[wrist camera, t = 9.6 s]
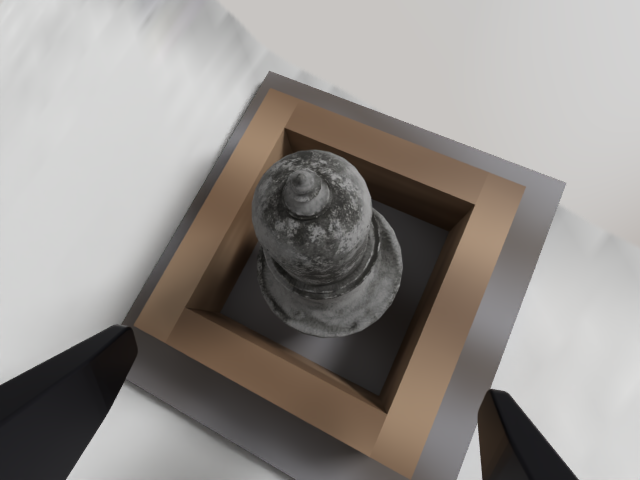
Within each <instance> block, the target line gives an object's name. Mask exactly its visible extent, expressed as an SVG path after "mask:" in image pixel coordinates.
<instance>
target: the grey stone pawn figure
mask: <svg viewBox="0 0 640 480" xmlns="http://www.w3.org/2000/svg"><path fill="white" fill-rule="evenodd" d="M252 223H253V226H254V230H255V233H256V237H257V239H258V240H259V242H260V247H259V251H258V255H257V279H258V282H259V286H260V289H261V293H262V296H263V297H264V299H265V301H266V302H267V304H268V306H269V307H270V309H271V311H272V312H273V313H274V314H275V315H276V316H277V317H279V318H280V319H281V320H282V321H283V322H284V323H285V324H286V325H288V326H290V327H291V328H293V329H295V330H297V331H299V332H301V333H303V334H306V335H311V336H315V337H320V338H335V337H345V336H348V335H351V334H354V333H357V332H360V331H362V330H364V329H365V328H367V327H368V326H370V325H371V324H373V323H374V322H376V321H377V320H378V319H379V318H380V317H381V316H382V315H383V314H384V313H385V311H386V310H387V309H388V308H389V307H390V305H391V304H392V302H393V300H394V298H395V296H396V293H397V291H398V289H399V287H400V282H401V276H402V270H403V263H402V254H401V247H400V245H399V242H398V240H397V237H396V235H395V232H394V230H393V229H392V227H391V226H390V225H389V223H388V222H387V221H386V219H385V218H384V217H383V216H382V215H381V214H380V213H379V212H377V211H376V210H375V209H374V208H372V202H371V196H370V193H369V190H368V188H367V185H366V182H365V181H364V179H363V177H362V176H361V175H360V173H359V172H358V171H357V169H356V168H355V167H354V166H353V165H352V164H351V163H349V162H348V161H347V160H346V159H344V158H343V157H340V156H338V155H336V154H334V153H331V152H328V151H321V150H304V151H298V152H295V153H293V154H290V155H287V156H285V157H283V158H282V159H280V160H279V161H277V162H276V163H274V164H273V165H272V166H271V167H270V168H269V169H268V170H267V171H266V172H265V173H264V174H263V176H262V178H261V179H260V181H259V183H258V185H257V187H256V189H255V192H254V196H253V200H252Z"/></svg>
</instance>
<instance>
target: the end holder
mask: <svg viewBox="0 0 640 480" xmlns="http://www.w3.org/2000/svg"><path fill="white" fill-rule="evenodd" d="M304 150H321V151H328V152H331V153H334V154H336V155H338V156H340V157H343V158H344V159H346V160H347V161H348V162H349V163H351V164H352V165H353V166H354V167H355V168H356V169H357V171H358V172H359V173H360V175H361V176H362V177H363V179H364V181H365V182H366V185H367V188H368V190H369V193H370V196H371V202H372V208H374V209H375V210H376V211H377V212H379V213H380V214H381V215H382V216H383V217H384V218H385V219H386V221H387V222H388V223H389V225H390V226H391V227H392V229H393V230H394V232H395V235H396V237H397V240H398V242H399V245H400V247H401V254H402V263H403V270H402V276H401V282H400V287H399V289H398V291H397V293H396V296H395V298H394V300H393V302H392V304H391V305H390V307H389V308H388V309H387V310H386V311H385V313H384V314H383V315H382V316H381V317H380V318H379V319H378V320H377V321H376V322H374V323H373V324H371V325H370V326H368V327H367V328H365V329H364V330H362V331H360V332H357V333H354V334H351V335H348V336H345V337H335V338H320V337H315V336H311V335H306V334H303V333H301V332H299V331H297V330H295V329H293V328H291V327H290V326H288V325H286V324H285V323H284V322H283V321H282V320H281V319H280V318H279V317H277V316H276V315H275V314H274V313H273V312H272V311H271V309H270V307H269V306H268V304H267V302H266V301H265V299H264V297H263V296H262V293H261V289H260V286H259V282H258V279H257V255H258V251H259V247H260V242H259V240H258V239H257V237H256V233H255V230H254V226H253V223H252V200H253V196H254V192H255V189H256V187H257V185H258V183H259V181H260V179H261V178H262V176H263V174H264V173H265V172H266V171H267V170H268V169H269V168H270V167H271V166H272V165H273V164H274V163H276V162H277V161H279V160H280V159H282V158H283V157H285V156H287V155H290V154H293V153H295V152H298V151H304ZM565 185H566V183H565V182H563V181H560V180H557V179H555V178H552V177H549V176H547V175H544V174H541V173H539V172H536V171H533V170H530V169H528V168H525V167H523V166H520V165H517V164H515V163H512V162H509V161H507V160H504V159H501V158H499V157H496V156H494V155H491V154H488V153H486V152H483V151H480V150H478V149H475V148H472V147H470V146H467V145H464V144H462V143H459V142H456V141H454V140H451V139H449V138H446V137H443V136H441V135H438V134H435V133H433V132H430V131H427V130H424V129H422V128H419V127H417V126H414V125H411V124H409V123H406V122H403V121H401V120H398V119H395V118H393V117H390V116H388V115H385V114H382V113H380V112H377V111H374V110H372V109H369V108H366V107H364V106H361V105H358V104H356V103H353V102H350V101H348V100H345V99H342V98H340V97H337V96H334V95H332V94H329V93H326V92H324V91H321V90H319V89H316V88H313V87H311V86H308V85H305V84H303V83H300V82H297V81H295V80H292V79H289V78H287V77H284V76H281V75H279V74H276V73H273V72H271V71H269V72H268V74H267V76H266V78H265V79H264V81H263V83H262V84H261V86H260V88H259V90H258V91H257V93H256V95H255V96H254V98H253V100H252V102H251V103H250V105H249V107H248V108H247V110H246V112H245V114H244V115H243V117H242V119H241V120H240V122H239V124H238V126H237V127H236V129H235V131H234V132H233V134H232V136H231V138H230V139H229V141H228V143H227V144H226V146H225V148H224V150H223V151H222V153H221V155H220V156H219V158H218V160H217V162H216V163H215V165H214V167H213V168H212V170H211V172H210V174H209V175H208V177H207V179H206V180H205V182H204V184H203V186H202V187H201V189H200V191H199V192H198V194H197V196H196V198H195V199H194V201H193V203H192V204H191V206H190V208H189V210H188V211H187V213H186V215H185V216H184V218H183V220H182V222H181V223H180V225H179V227H178V228H177V230H176V232H175V234H174V235H173V237H172V239H171V240H170V242H169V244H168V246H167V247H166V249H165V251H164V252H163V254H162V256H161V258H160V259H159V261H158V263H157V264H156V266H155V268H154V270H153V271H152V273H151V275H150V276H149V278H148V280H147V282H146V283H145V285H144V287H143V288H142V290H141V292H140V294H139V295H138V297H137V299H136V300H135V302H134V304H133V306H132V307H131V309H130V311H129V312H128V314H127V316H126V318H125V319H124V321H123V323H122V324H121V325H125V326H129V327H131V328H132V329H133V331H134V335H135V339H136V343H137V346H138V354H137V357H136V359H135V361H134V363H133V365H132V367H131V369H130V371H129V373H128V375H127V377H126V380H128V381H130V382H132V383H133V384H135V385H137V386H138V387H140V388H142V389H143V390H145V391H147V392H148V393H150V394H152V395H153V396H155V397H157V398H159V399H160V400H162V401H164V402H165V403H167V404H169V405H170V406H172V407H174V408H175V409H177V410H179V411H181V412H182V413H184V414H186V415H187V416H189V417H191V418H192V419H194V420H196V421H197V422H199V423H201V424H203V425H204V426H206V427H208V428H209V429H211V430H213V431H214V432H216V433H218V434H219V435H221V436H223V437H224V438H226V439H228V440H230V441H231V442H233V443H235V444H236V445H238V446H240V447H241V448H243V449H245V450H246V451H248V452H250V453H252V454H253V455H255V456H257V457H258V458H260V459H262V460H263V461H265V462H267V463H268V464H270V465H272V466H273V467H275V468H277V469H279V470H280V471H282V472H284V473H285V474H287V475H289V476H290V477H292V478H294V479H295V480H456V479H457V477H458V474H459V471H460V469H461V466H462V463H463V460H464V458H465V455H466V452H467V450H468V447H469V444H470V442H471V439H472V436H473V433H474V431H475V428H476V425H477V423H478V420H477V416H478V410H479V408H480V405H481V403H482V401H483V398H484V396H485V394H486V392H487V391H488V390H489V389H490V388H491V385H492V382H493V379H494V377H495V374H496V371H497V369H498V366H499V363H500V361H501V358H502V355H503V353H504V350H505V347H506V344H507V342H508V339H509V336H510V334H511V331H512V328H513V326H514V323H515V320H516V317H517V315H518V312H519V309H520V307H521V304H522V301H523V299H524V296H525V293H526V290H527V288H528V285H529V282H530V280H531V277H532V274H533V272H534V269H535V266H536V263H537V261H538V258H539V255H540V253H541V250H542V247H543V245H544V242H545V239H546V236H547V234H548V231H549V228H550V226H551V223H552V220H553V218H554V215H555V212H556V210H557V207H558V204H559V201H560V199H561V196H562V193H563V191H564V188H565Z"/></svg>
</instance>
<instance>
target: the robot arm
mask: <svg viewBox="0 0 640 480" xmlns="http://www.w3.org/2000/svg"><path fill="white" fill-rule="evenodd" d="M137 354H138V346H137V343H136V339H135V335H134V331H133V329H132V328H131V327H129V326H125V325H118V324H117V325H113V326H111V327H109V328H107V329H105V330H103V331H101V332H100V333H98V334H96V335H94V336H92V337H90V338H88V339H86V340H84V341H83V342H81V343H79V344H77V345H75V346H73V347H71V348H69V349H67V350H66V351H64V352H62V353H60V354H58V355H56V356H54V357H52V358H51V359H49V360H47V361H45V362H43V363H41V364H39V365H37V366H35V367H34V368H32V369H30V370H28V371H26V372H24V373H22V374H20V375H18V376H17V377H15V378H13V379H11V380H9V381H7V382H5V383H3V384H1V385H0V480H66V479H67V477H68V475H69V474H70V472H71V471H72V469H73V468H74V466H75V464H76V463H77V461H78V460H79V458H80V457H81V455H82V453H83V452H84V450H85V449H86V447H87V445H88V444H89V442H90V441H91V439H92V438H93V436H94V434H95V433H96V431H97V430H98V428H99V427H100V425H101V423H102V422H103V420H104V419H105V417H106V415H107V414H108V412H109V410H110V408H111V406H112V405H113V403H114V401H115V399H116V397H117V395H118V393H119V391H120V389H121V387H122V385H123V383H124V381H125V379H126V377H127V375H128V373H129V371H130V369H131V367H132V365H133V363H134V361H135V359H136V357H137ZM477 420H478V433H479V444H480V456H481V468H482V479H483V480H579V479H578V478H577V477H576V476H575V475H574V473H573V472H572V471H571V470H570V468H569V467H568V466H567V465H566V463H565V462H564V461H563V460H562V458H561V457H560V456H559V455H558V454H557V452H556V451H555V450H554V449H553V447H552V446H551V445H550V444H549V442H548V441H547V440H546V439H545V437H544V436H543V435H542V434H541V433H540V431H539V430H538V429H537V428H536V426H535V425H534V424H533V423H532V421H531V420H530V419H529V418H528V417H527V415H526V414H525V413H524V412H523V410H522V409H521V408H520V407H519V405H518V404H517V403H516V402H515V400H514V399H513V398H512V397H511V396H510V394H508V393H507V392H505V391H500V390H495V389H489V390H488V391H487V392H486V394H485V396H484V398H483V401H482V403H481V405H480V408H479V410H478V416H477Z"/></svg>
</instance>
